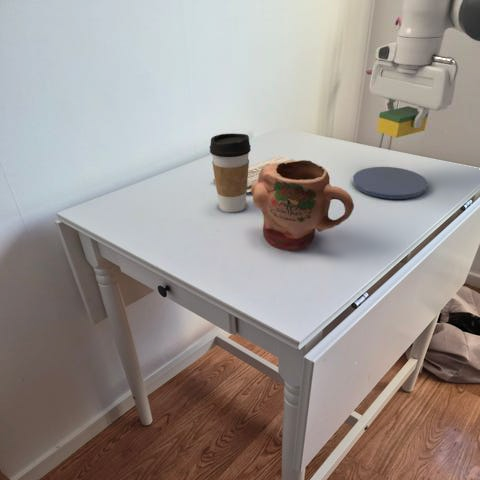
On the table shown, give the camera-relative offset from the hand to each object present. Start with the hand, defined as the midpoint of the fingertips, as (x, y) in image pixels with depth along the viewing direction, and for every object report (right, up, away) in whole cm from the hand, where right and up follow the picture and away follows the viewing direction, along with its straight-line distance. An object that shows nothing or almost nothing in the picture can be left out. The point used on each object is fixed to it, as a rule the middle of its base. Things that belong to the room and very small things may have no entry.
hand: (402, 123), depth 96 cm
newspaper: (-31, -9, +11) cm, 34 cm away
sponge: (0, -1, +1) cm, 2 cm away
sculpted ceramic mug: (-26, -29, -13) cm, 41 cm away
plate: (-1, -13, +5) cm, 14 cm away
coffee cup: (-39, -20, -1) cm, 43 cm away
